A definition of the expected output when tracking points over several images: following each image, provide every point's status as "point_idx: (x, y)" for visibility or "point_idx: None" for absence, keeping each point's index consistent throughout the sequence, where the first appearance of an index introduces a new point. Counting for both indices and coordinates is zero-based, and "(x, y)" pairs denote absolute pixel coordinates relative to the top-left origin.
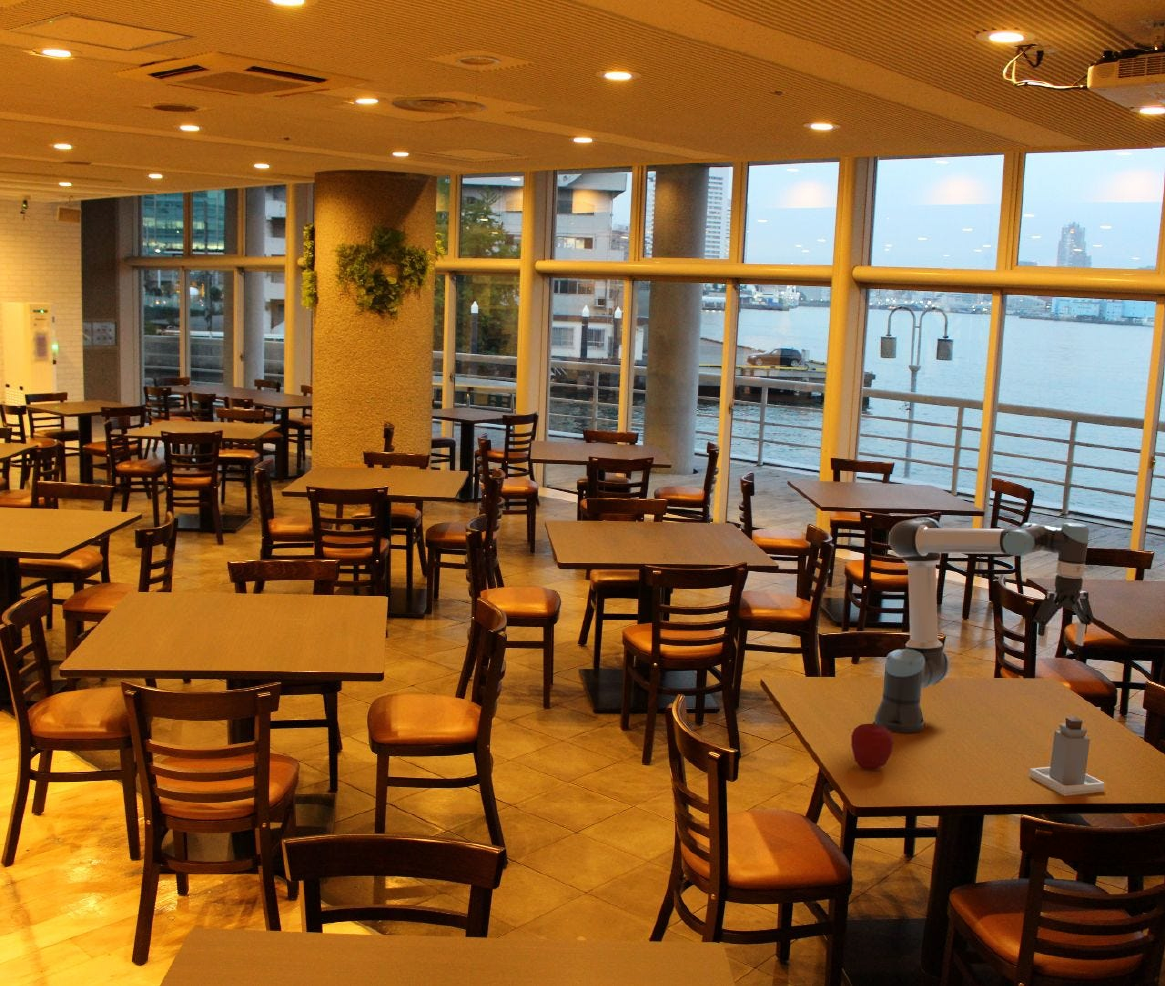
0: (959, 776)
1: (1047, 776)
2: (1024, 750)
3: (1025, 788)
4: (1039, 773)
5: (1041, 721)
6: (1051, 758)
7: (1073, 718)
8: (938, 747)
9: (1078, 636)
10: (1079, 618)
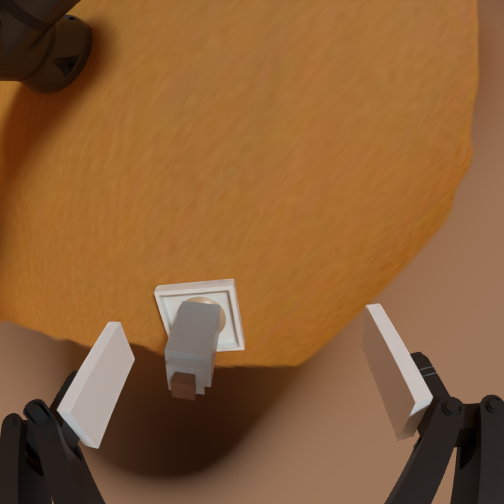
0: (62, 270)
1: (166, 320)
2: (217, 171)
3: (133, 318)
4: (159, 309)
5: (361, 31)
6: (176, 317)
7: (183, 388)
8: (69, 154)
9: (378, 354)
10: (419, 444)
